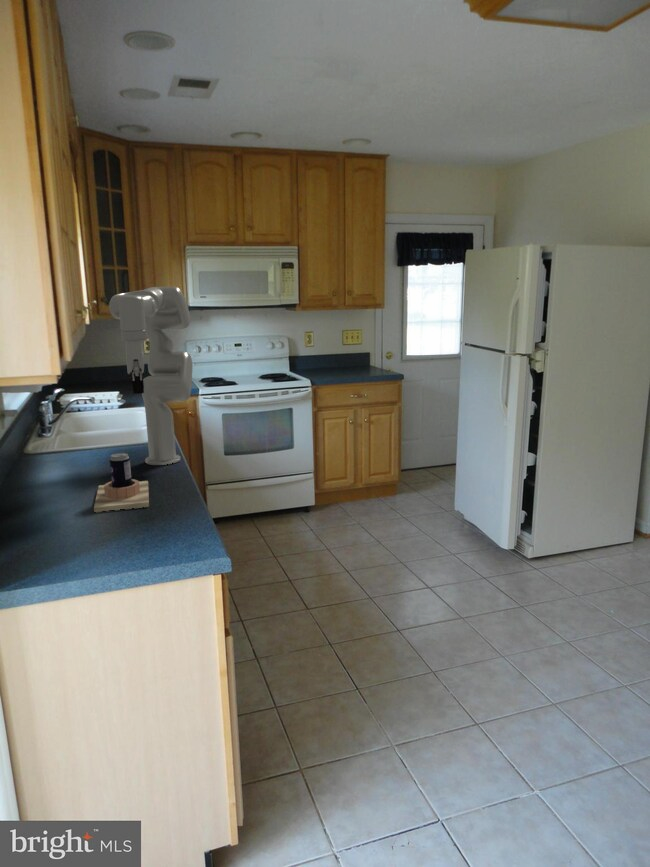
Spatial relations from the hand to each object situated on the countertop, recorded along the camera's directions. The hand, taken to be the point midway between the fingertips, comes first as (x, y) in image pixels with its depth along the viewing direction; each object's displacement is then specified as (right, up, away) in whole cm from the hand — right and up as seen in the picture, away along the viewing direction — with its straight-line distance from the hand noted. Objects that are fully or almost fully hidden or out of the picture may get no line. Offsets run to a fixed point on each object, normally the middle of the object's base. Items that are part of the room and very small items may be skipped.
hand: (138, 391), depth 200 cm
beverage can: (-2, -32, -8) cm, 33 cm away
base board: (-2, -33, -8) cm, 34 cm away
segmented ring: (-2, -32, -9) cm, 33 cm away
